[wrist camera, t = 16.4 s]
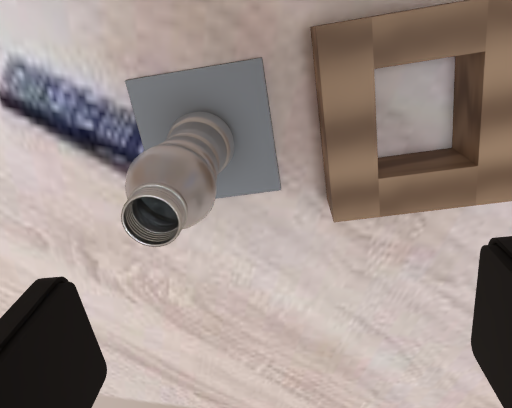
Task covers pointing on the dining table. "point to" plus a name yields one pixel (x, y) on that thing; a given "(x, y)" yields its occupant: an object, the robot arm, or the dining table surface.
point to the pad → (222, 105)
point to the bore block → (464, 114)
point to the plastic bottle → (176, 179)
